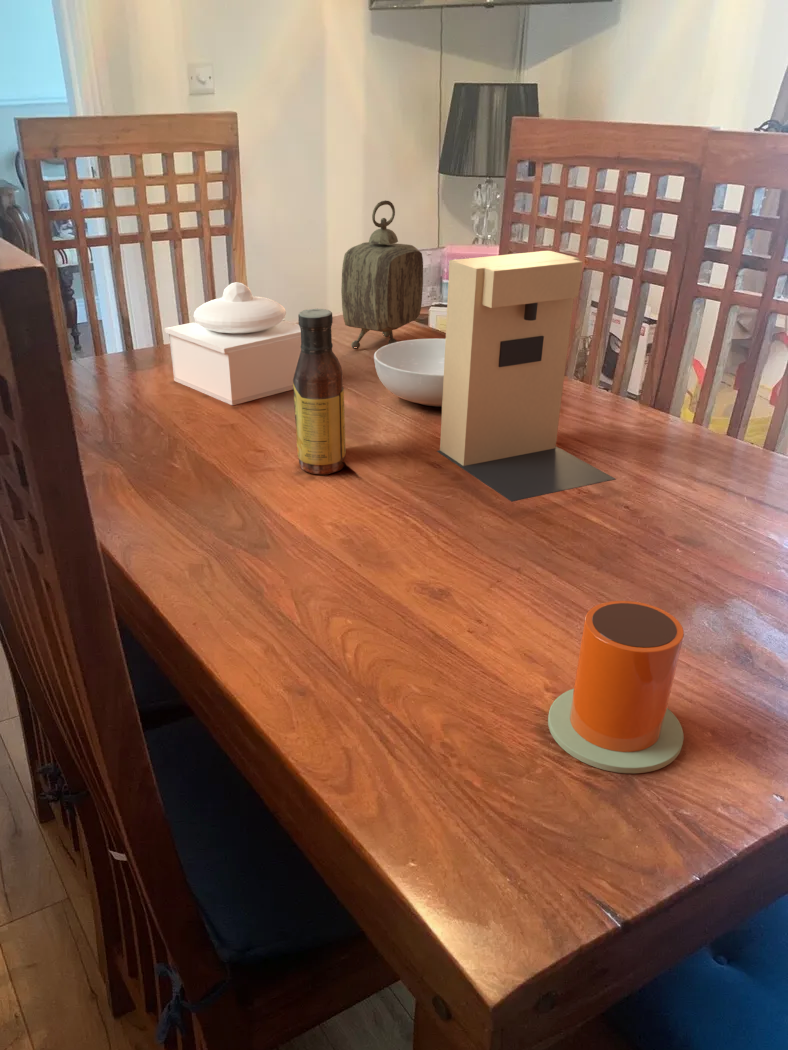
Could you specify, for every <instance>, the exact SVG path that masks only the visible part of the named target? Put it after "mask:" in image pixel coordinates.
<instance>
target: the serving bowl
mask: <svg viewBox="0 0 788 1050" xmlns="http://www.w3.org/2000/svg"><path fill="white" fill-rule="evenodd" d="M445 340H446V338H438V337H437V338H417V339H415V338H414V339H407V340H406V339H405V340H401V341H397V342H395V343H392V344H386V345H383V346H381V347H380V348H378V349H376V351H375V352H374V354H373V361H374V368H375V371H376V374H377V377H378V379H379V381H380V382H381V384H382V385H383V386H384V387H385V389H386V390H387V391H389V392H390V393H391V394H393V395H394V396H396V397H398V398H400V399H403V400H405V401H408V402H411V403H415V404H419V405H423V406H428V407H434V408H435V407H436V408H442V399H443V380H444V360H445Z"/></svg>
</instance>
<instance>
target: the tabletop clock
mask: <svg viewBox="0 0 788 1050" xmlns="http://www.w3.org/2000/svg"><path fill="white" fill-rule="evenodd" d="M386 205H387V206H389V207H390V209H391V212H392V213H391V217H390V219H388V220H387V218H386V217H382V218H380V222H377V221H376V213H377V211H378V210H379V208H380V207H382V206H386ZM395 215H396V209H395V205H394V203H392V202H391V200H381V201H379V202H377V204H376V205H375V206H374V208H373V210H372V214H371V218H372V223H373V224H374V226H375V227H377V228H378V229H376V230H374V231H373V232H372V233H371V234H370V237H369V239H368V241H367V242H362V243H360V244H357V245H354V246H351V247H350V248H349V249H348V250H347V251H346V252H345V253H344V256H343V260H342V267H341V288H340V289H341V308H342V317H343V321H344V325H345V326H347V327H350V328H354V329H361V330H360V333H359V335H358V337H357V339H356V340H353V341H352V342H351V344H350V345H351V348H352V349H353V350H359V348H360V347H361V344H360V342H361V341H362V339H363V338H364V337H365V335H366V334H367V333H368V332H369V331H374V332H379V333H382V335H383V334H384V335H383V337H385V338H388V337H389V340H388V342H387V345H389V344H392V343H395V342H398V341H397V339H395V338H394V334H393V331H395V330H398V329H399V328H401V327H403V326H406V325H407V324H409V323H411V322H414V321H416V320H417V319H418V318H419V316H420V315H421V311H422V305H423V304H422V303H423V291H424V257H423V253H422V252H421V251H420V250H419V249H418V248H417V247H415V246H414V245H412V244H405V243H398V242H399V240H398V236H397V234H396V233H395V231H393V230H392V229H391V228H387V227H388V226H390V225H391V224H392V223H393V221H394V219H395ZM354 347H357V348H354Z"/></svg>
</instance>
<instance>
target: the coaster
mask: <svg viewBox="0 0 788 1050" xmlns="http://www.w3.org/2000/svg"><path fill="white" fill-rule="evenodd" d="M573 690H574V688H571V689H569V690H566V691H565V692H563V693H561V694H560V695H559V696H557V697H556V698H555V700H554V701H553V702H552V703H551V705H550V708H549V710H548V711H549V712H548V715H547V725H548V726H547V727H548V730H549V732H550V735H551V737H552V738H553V739H554V741H555V743H556V744H557V745H558V746H559V747H560V748H561V749H562V750H563V751H565V752H566V754H568V755H570V756H571V757H572V758H574V759H576V760H577V761H579V762H582V763H584V764H586V765H588V766H590V767H593V768H597V769H600V770H603V771H606V772H612V773H617V774H618V773H619V774H633V775H634V774H644V773H650V772H654V771H657V770H658V771H659V770H661V769H662V768H665V767H668V766H669V765H670V764H672V762H674V761H675V760H676V759H677V757H678V756H679V755H680V753H681V751H682V748H683V745H684V739H685V737H684V730H683V726H682V725H681V722H680V720H679V719H678V718H677V716H676V715H675V714H674V713H673V712H672V711H671V710H670V708H668V707H667V710H666V714H665V718H664V723H663V727H662V731H661V735H660V738H659V739H658V741H657V742H656V743H655V744H654V745H652V746H651V747H649V748H646V749H644V750H640V751H635V752H618V751H612V750H608V749H604V748H601V747H598V746H596V745H594V744H592V743H590V742H588V741H586V740H585V739H583V738H582V737H581V736H580V735H579V734H578V733H577V732H576V731H575V730H574V728H573V727H572V725H571V722H570V709H571V703H572V697H573Z"/></svg>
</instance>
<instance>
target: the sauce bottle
mask: <svg viewBox="0 0 788 1050" xmlns="http://www.w3.org/2000/svg"><path fill="white" fill-rule="evenodd" d="M333 319H334V318H333V312H332V311H331V310H330V309H327V308H309V309H304V310H301V311H299V312H298V321H297V322H298V324H299V326H300V329H301V352H300V356H299V359H298V363H297V367H296V370H295V374H294V378H293V389H292V390H293V401H294V403H293V405H294V406H293V407H294V420H295V431H296V432H295V435H296V450H297V451H296V452H297V458H298V465H299V467H300V469H301V470H302V471H304V472H306V473H309V474H313V475H320V476H321V475H322V476H325V475H330V474H333V473H338V472H339V471H341V470H343V468H344V467H345V462H344V459H345V456H346V453H347V449H346V419H345V388H344V384H343V383H344V379H343V368H342V364H341V363H340V361H339V358H338V356H337V355H336V354H335V353H334V351H333V346H334V345H333V338H332V337H333V336H332V326H333V323H334V322H333V321H334V320H333Z"/></svg>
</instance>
